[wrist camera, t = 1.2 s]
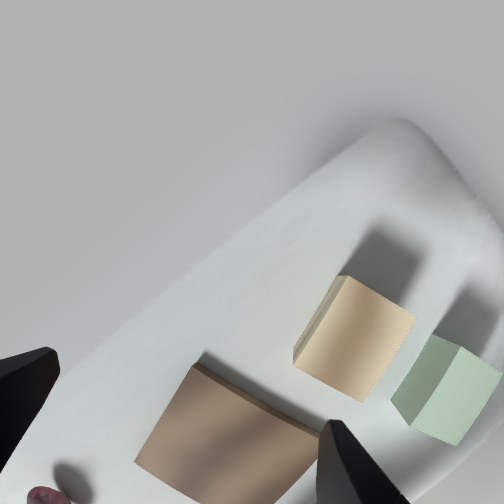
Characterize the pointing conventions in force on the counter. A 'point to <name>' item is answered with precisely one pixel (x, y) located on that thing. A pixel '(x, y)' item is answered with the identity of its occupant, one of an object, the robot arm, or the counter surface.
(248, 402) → the walnut baseboard
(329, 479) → the robot arm
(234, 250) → the counter surface
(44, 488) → the vegetable
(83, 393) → the counter surface
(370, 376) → the beech brick
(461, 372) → the sage green brick
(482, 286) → the counter surface
